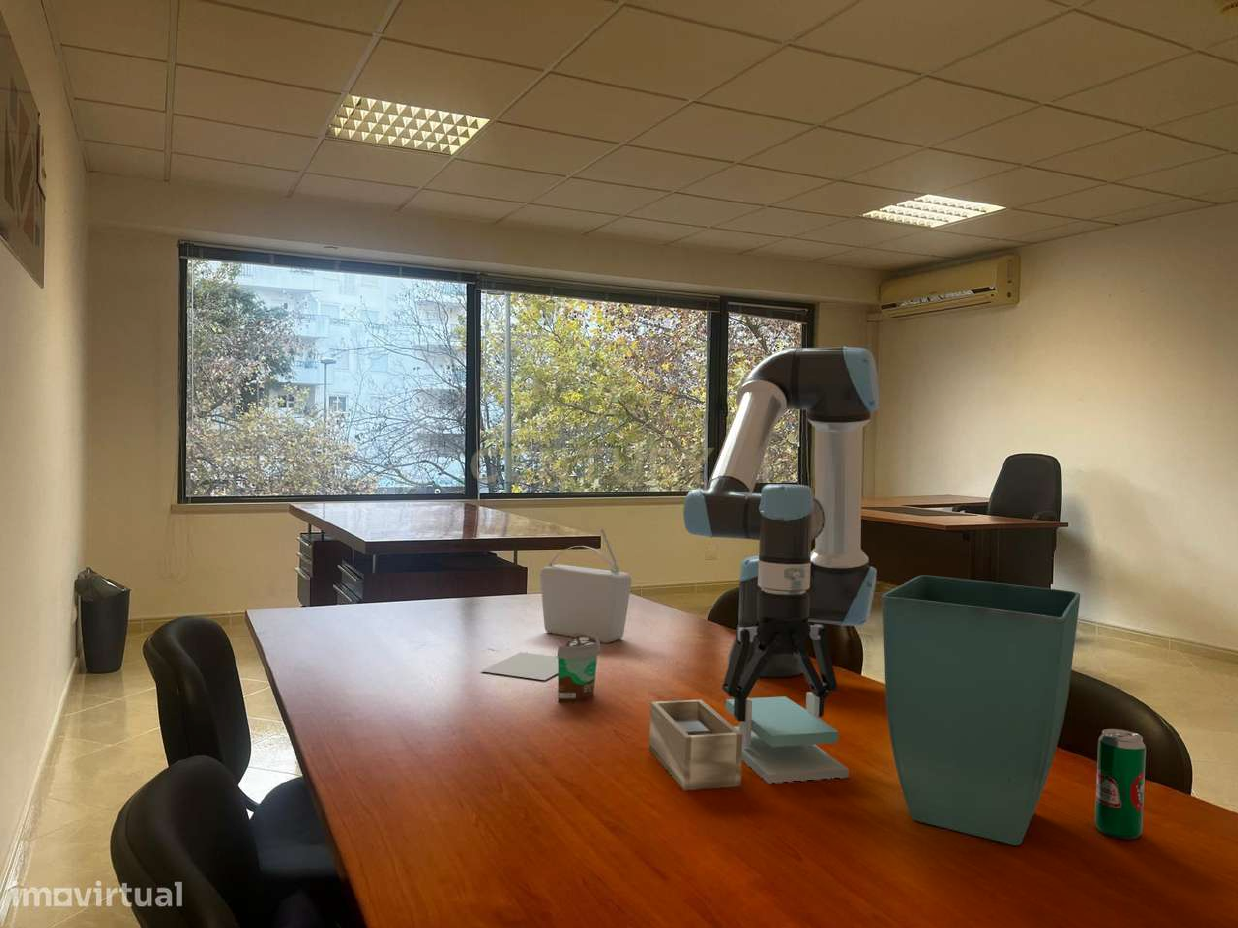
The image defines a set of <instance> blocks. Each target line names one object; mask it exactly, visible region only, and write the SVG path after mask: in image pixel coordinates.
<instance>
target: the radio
mask: <svg viewBox="0 0 1238 928" xmlns="http://www.w3.org/2000/svg"><path fill="white" fill-rule="evenodd" d="M600 534H602V536H603V537H602V538H603V539H604V542H605V544H606V547H607V549H608V552H609V554H610V557H611V560H612V561H613V563H612V561H610V559H609V558H608V557H607V556H606V555H605V553H602V552H601V551H600V550H597V549H596V548H593V547H589V546H585V545H576V546H571V547H569V548H566V549H563V550H561V551H560V552H558V554H556V556H554V557H553V558H552V560H551V562H550V563H549V565H547V566H544V567H542V568H541V570H540V572H539V578H540V590H541V601H542V602H541V604H542V611H543V625H544V630H545V632H546V633H548V634H551V633H552V635H557V634H558V636H562V635H564V636H563V637H568V636H569V638H574V637H575V632H577V633H585V634H589V635H593V636H595V637H597V638H598V641H599V642H600V643H602V644H608V643H611V642H615V641H619V640H621V639H622V638H623V636H624V632H625V627H626V626H625V625H626V619H627V614H628V608H629V607H628V605H629V599H630V593H631V587H632V578H631V576H630V574H629V573H627V572H623V571H620V566H619V565H618V563H617V560H616V558H615V554H614V553H613V551H612V548H611V545H610V543H609V541H608V538H607V536H606V533H605V529H604V528H602V529H600ZM581 547H582V548H585V549H589V550H592V551H594V552H596V553H597V554H599V556H601V557H603V559H604V560H605V561H606V562H607V563H608V564H609V566H610V570H606V569H599V568H591V567H584V566H575V565H567V564H559V563H558V564H554V563H555V561H556V560H557V558H558V557H559V556H561V555H562V554H563V553H564V552H565V551H567V550H570V549H573V548H581Z"/></svg>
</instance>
